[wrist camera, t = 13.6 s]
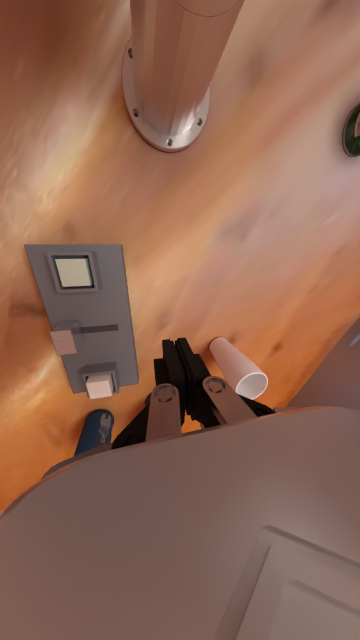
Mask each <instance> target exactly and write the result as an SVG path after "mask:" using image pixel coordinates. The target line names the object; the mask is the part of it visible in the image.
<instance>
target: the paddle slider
mask: <svg viewBox="0 0 360 640" xmlns="http://www.w3.org/2000/svg"><path fill="white" fill-rule="evenodd" d="M50 335H51V338H52V341H53V344H54V347H55V349H56V352H57V355H64V354H73V353H77V352H78V350H79V349H80V347H81V346H82V344H83V342H84V340H83V336H82V332H81V328H80V324H79V321H70V322H60V323H59V324H58V325H57V326H56V327H55V328H53V329H52V330H51V331H50Z"/></svg>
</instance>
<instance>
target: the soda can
mask: <svg viewBox="0 0 360 640" xmlns="http://www.w3.org/2000/svg"><path fill="white" fill-rule="evenodd" d="M113 424H114V417H113V415H112V414H111V412H110V411H108V410H105V409H98V410H95V411H93V412H92V413H91V414H90V415H89V416H88V417H87V418H86V420H85V423H84V426H83V429H82V432H81V435H80V438H79V442H78V445H77V448H76V451H75V454H74V456H76V455H79V454H81V453H83V452H85V451H88V450H90V449H92V448H95V447H97V446H99V445H102V444H104V443H106V445H108V444H110V442H111V436H112V430H113Z"/></svg>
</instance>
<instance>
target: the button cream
mask: <svg viewBox="0 0 360 640" xmlns="http://www.w3.org/2000/svg"><path fill="white" fill-rule="evenodd" d="M86 386H87V389H88V393H89V396H90V399H95V398H102V397H108V396H112V392H113V387H114V383H113V378H112V373H107V374H99V375H92V376H89V377H88V380H87V382H86Z"/></svg>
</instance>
